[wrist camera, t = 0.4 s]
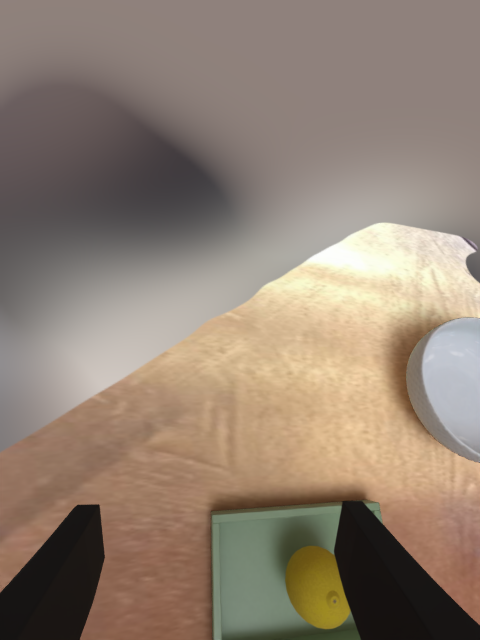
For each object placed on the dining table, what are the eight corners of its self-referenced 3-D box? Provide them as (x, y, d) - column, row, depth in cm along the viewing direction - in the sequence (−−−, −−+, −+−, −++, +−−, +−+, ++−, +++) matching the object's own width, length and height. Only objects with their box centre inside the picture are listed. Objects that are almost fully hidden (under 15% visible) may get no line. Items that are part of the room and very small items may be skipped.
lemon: (320, 530, 34) (354, 550, 27) (337, 594, 32) (379, 633, 25) (270, 546, 33) (291, 571, 26) (285, 613, 31) (313, 660, 24)
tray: (389, 631, 32) (405, 645, 30) (212, 655, 30) (214, 672, 27) (366, 499, 36) (379, 502, 34) (210, 511, 34) (212, 515, 32)
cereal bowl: (419, 481, 38) (466, 486, 31) (368, 347, 44) (398, 328, 37) (534, 447, 41) (597, 445, 35) (472, 327, 47) (516, 306, 41)
